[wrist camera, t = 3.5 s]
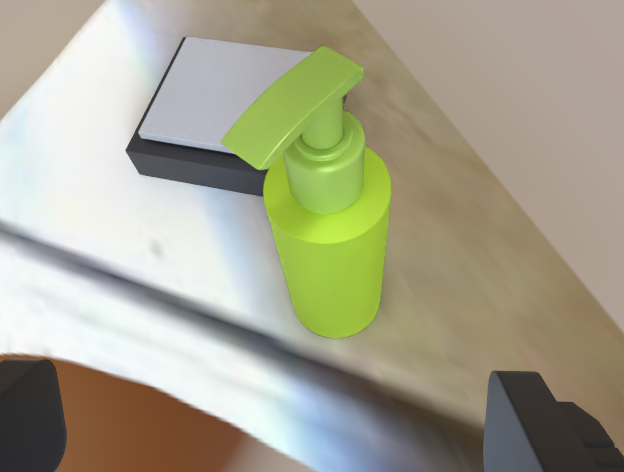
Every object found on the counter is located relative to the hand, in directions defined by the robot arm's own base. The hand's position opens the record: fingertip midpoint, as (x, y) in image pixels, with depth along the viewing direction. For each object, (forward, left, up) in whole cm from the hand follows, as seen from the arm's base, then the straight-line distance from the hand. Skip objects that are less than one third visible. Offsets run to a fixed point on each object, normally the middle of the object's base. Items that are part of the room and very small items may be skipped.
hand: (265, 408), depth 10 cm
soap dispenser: (+2, -11, -24) cm, 26 cm away
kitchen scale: (+12, -24, -24) cm, 36 cm away
